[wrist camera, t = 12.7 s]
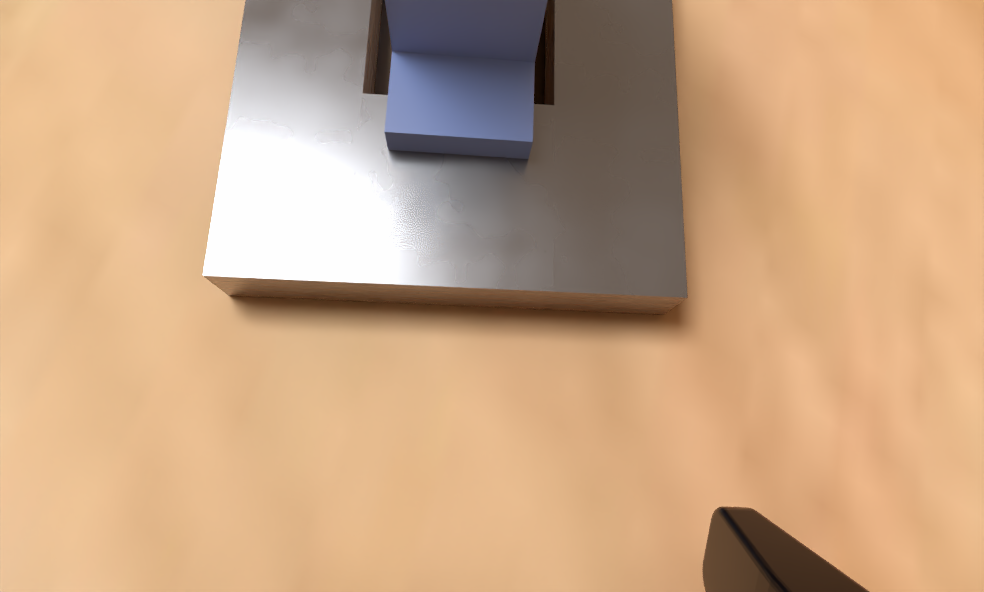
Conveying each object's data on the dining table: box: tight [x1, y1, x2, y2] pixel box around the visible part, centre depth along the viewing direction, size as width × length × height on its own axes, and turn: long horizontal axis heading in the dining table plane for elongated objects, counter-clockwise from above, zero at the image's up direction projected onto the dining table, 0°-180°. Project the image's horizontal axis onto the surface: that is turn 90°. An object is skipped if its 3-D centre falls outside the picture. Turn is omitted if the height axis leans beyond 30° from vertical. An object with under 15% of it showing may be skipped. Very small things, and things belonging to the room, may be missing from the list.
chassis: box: [203, 0, 687, 315], centre depth 20 cm, size 18×13×2 cm
